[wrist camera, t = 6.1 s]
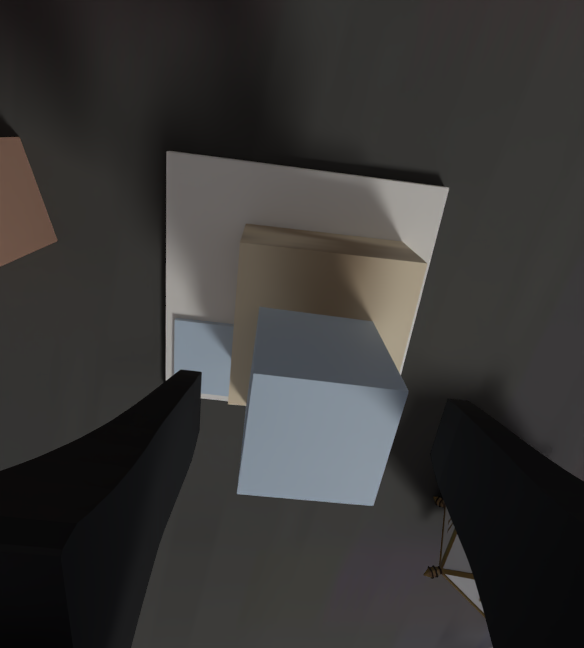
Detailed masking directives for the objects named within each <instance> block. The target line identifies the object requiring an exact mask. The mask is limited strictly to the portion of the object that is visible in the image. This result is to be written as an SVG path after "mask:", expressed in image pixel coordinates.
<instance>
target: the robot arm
mask: <svg viewBox="0 0 584 648" xmlns="http://www.w3.org/2000/svg"><path fill="white" fill-rule="evenodd" d="M201 380H202V372H200V371H191V370H179V371H178V372H177V373H175V374H174V375H173V376H171V377H170V378H169V379H168V380H166V381H165V382H164V383H163V384H161V385H160V386H159V387H158V388H156V389H155V390H154V391H153V392H151V393H150V394H149V395H147V396H146V397H145V398H143V399H142V400H141V401H139V402H138V403H137V404H135V405H134V406H133V407H131V408H130V409H128V410H127V411H125V412H124V413H122V414H121V415H119V416H118V417H116V418H115V419H113V420H112V421H110V422H108V423H107V424H105V425H103V426H101V427H100V428H98V429H96V430H94V431H92V432H91V433H89V434H87V435H85V436H83V437H81V438H79V439H77V440H75V441H73V442H71V443H69V444H66V445H64V446H62V447H60V448H58V449H55V450H53V451H51V452H49V453H46V454H44V455H42V456H40V457H37V458H35V459H32V460H29V461H27V462H24V463H22V464H19V465H16V466H13V467H10V468H8V469H5V470H2V471H0V648H131V645H132V641H133V638H134V634H135V630H136V626H137V622H138V619H139V615H140V611H141V608H142V604H143V600H144V597H145V593H146V589H147V586H148V582H149V578H150V575H151V571H152V568H153V564H154V561H155V557H156V554H157V550H158V547H159V544H160V541H161V538H162V535H163V532H164V529H165V527H166V524H167V522H168V519H169V517H170V514H171V512H172V509H173V507H174V504H175V502H176V499H177V497H178V494H179V492H180V489H181V486H182V484H183V481H184V479H185V476H186V474H187V471H188V469H189V466H190V463H191V461H192V457H193V453H194V449H195V446H196V442H197V438H198V434H199V428H200V404H201ZM430 455H431V459H432V464H433V468H434V473H435V476H436V480H437V484H438V487H439V490H440V492H441V495H442V497H443V500H444V502H445V505H446V508H447V510H448V513H449V515H450V517H451V520H452V522H453V525H454V527H455V530H456V532H457V535H458V537H459V540H460V542H461V545H462V547H463V549H464V552H465V554H466V557H467V560H468V562H469V565H470V568H471V571H472V573H473V577H474V580H475V583H476V587H477V590H478V594H479V597H480V601H481V604H482V607H483V611H484V615H485V618H486V622H487V626H488V630H489V634H490V637H491V641H492V645H493V648H584V481H582V480H580V479H579V478H577V477H575V476H574V475H572V474H571V473H569V472H567V471H566V470H564V469H563V468H561V467H560V466H558V465H557V464H555V463H554V462H552V461H551V460H550V459H548V458H547V457H545V456H544V455H542V454H541V453H539V452H538V451H537V450H535V449H534V448H532V447H531V446H530V445H528V444H527V443H526V442H524V441H523V440H521V439H520V438H519V437H517V436H516V435H515V434H513V433H512V432H511V431H509V430H508V429H507V428H505V427H504V426H503V425H501V424H500V423H499V422H498V421H496V420H495V419H494V418H492V417H491V416H490V415H488V414H487V413H485V412H484V411H483V410H481V409H480V408H478V407H477V406H475V405H474V404H472V403H471V402H469V401H464V400H455V399H448V400H447V403H446V406H445V409H444V412H443V415H442V418H441V422H440V425H439V428H438V431H437V434H436V437H435V441H434V444H433V447H432V450H431V453H430Z"/></svg>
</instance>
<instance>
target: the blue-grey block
mask: <svg viewBox="0 0 584 648" xmlns="http://www.w3.org/2000/svg"><path fill="white" fill-rule="evenodd" d="M408 393H409V391H408V389H407V387H406V385H405V383H404V381H403V379H402V377H401V375H400V373H399V371H398V369H397V367H396V365H395V363H394V362H393V360H392V358H391V356H390V354H389V352H388V350H387V348H386V346H385V344H384V342H383V340H382V338H381V336H380V334H379V332H378V330H377V329H376V327H375V325H374V323H373V321H366V320H358V319H350V318H343V317H335V316H327V315H320V314H312V313H304V312H297V311H289V310H281V309H274V308H266V307H259V314H258V321H257V328H256V336H255V343H254V351H253V358H252V366H251V373H250V380H249V388H248V395H247V403H246V412H245V422H244V431H243V441H242V450H241V460H240V469H239V479H238V488H237V494H243V495H255V496H266V497H277V498H289V499H300V500H311V501H323V502H334V503H345V504H357V505H368V506H373V505H374V501H375V498H376V495H377V492H378V489H379V485H380V482H381V479H382V476H383V473H384V469H385V466H386V463H387V460H388V457H389V453H390V450H391V447H392V444H393V441H394V437H395V434H396V431H397V428H398V425H399V421H400V418H401V415H402V412H403V409H404V405H405V402H406V399H407V396H408Z"/></svg>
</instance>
